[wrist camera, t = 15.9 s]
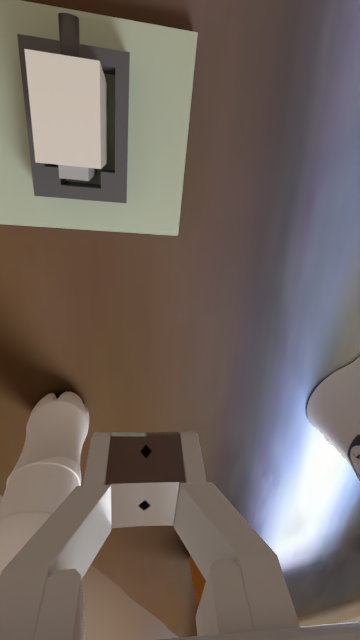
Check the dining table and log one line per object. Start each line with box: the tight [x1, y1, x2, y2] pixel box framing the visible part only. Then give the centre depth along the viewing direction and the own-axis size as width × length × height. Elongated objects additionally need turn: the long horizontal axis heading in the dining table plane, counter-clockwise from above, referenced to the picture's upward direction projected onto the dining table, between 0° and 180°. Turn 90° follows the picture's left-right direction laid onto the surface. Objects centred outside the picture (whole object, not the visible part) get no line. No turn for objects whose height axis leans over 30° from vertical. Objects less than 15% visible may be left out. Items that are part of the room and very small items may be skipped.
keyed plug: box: [24, 13, 108, 181], centre depth 23 cm, size 4×9×9 cm, turn 174°
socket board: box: [0, 0, 198, 236], centre depth 27 cm, size 18×16×4 cm
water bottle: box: [0, 392, 89, 575], centre depth 32 cm, size 7×7×25 cm
